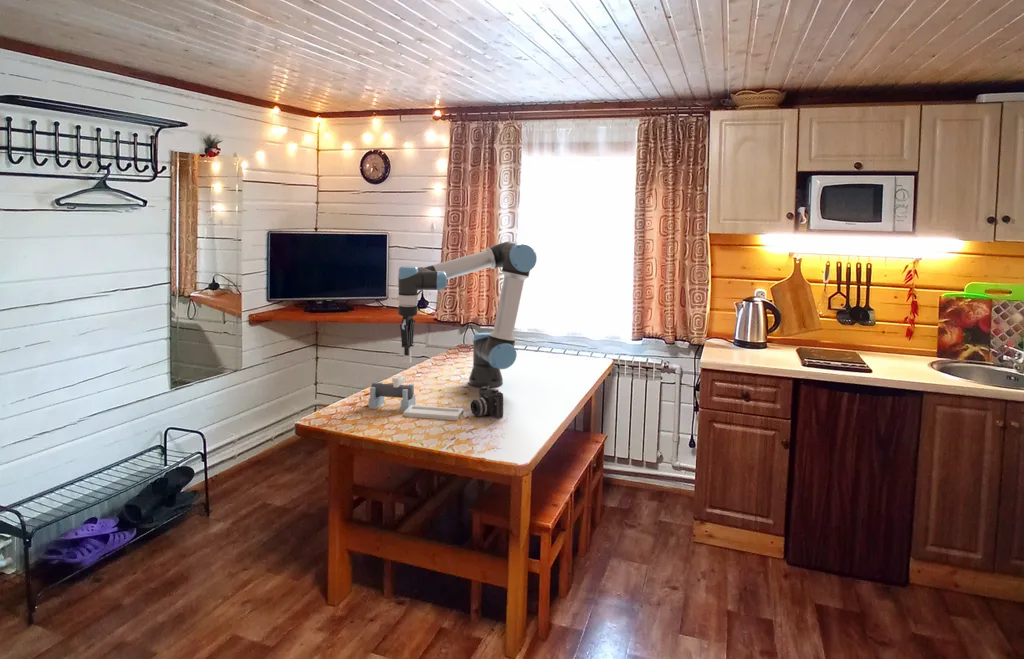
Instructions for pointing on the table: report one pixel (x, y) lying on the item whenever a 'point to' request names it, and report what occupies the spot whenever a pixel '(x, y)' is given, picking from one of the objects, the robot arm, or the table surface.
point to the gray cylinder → (392, 390)
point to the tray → (433, 412)
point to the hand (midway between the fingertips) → (407, 362)
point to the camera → (488, 403)
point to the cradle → (379, 400)
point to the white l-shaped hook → (398, 381)
